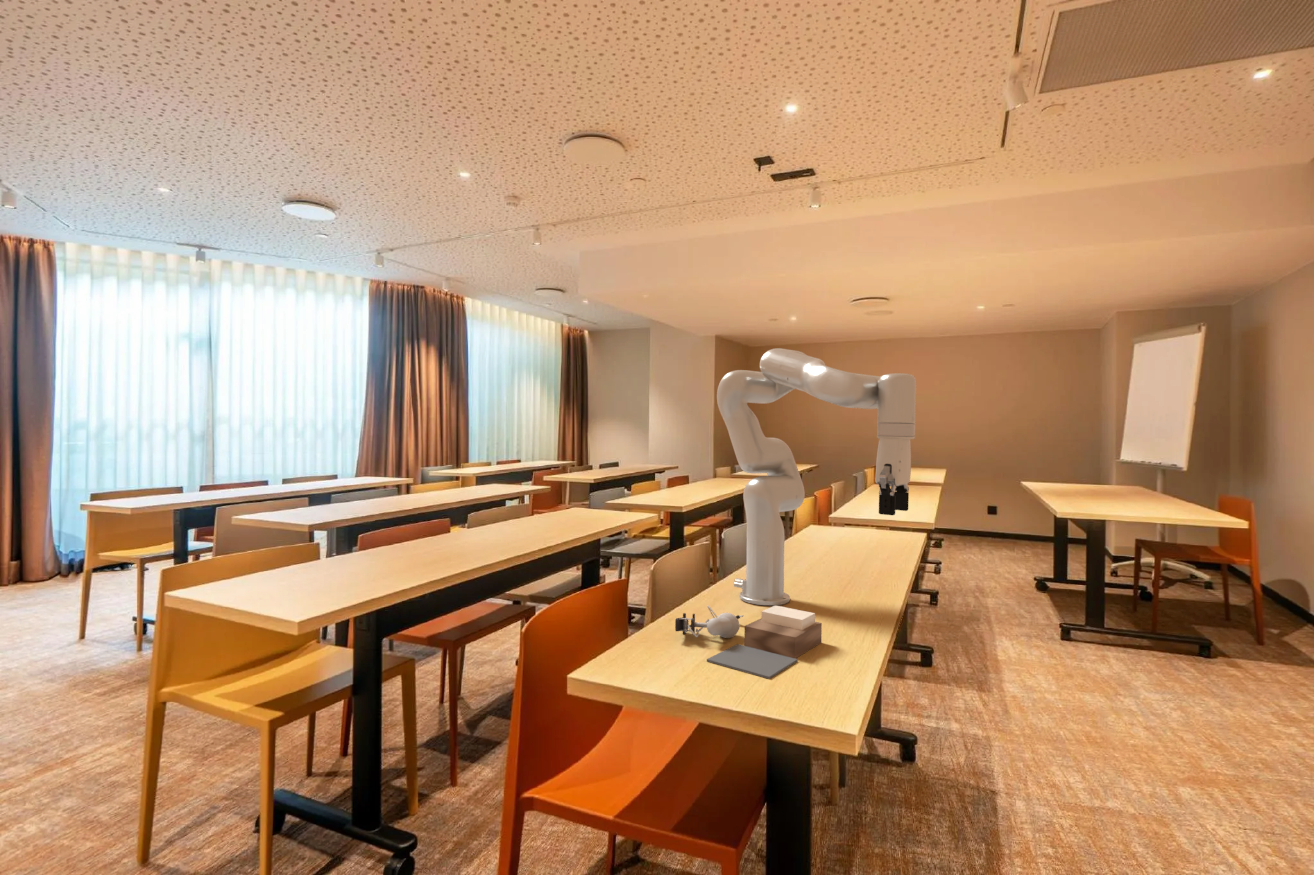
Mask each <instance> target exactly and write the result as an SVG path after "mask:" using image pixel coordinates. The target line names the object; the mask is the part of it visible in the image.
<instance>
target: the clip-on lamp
mask: <svg viewBox="0 0 1314 875" xmlns="http://www.w3.org/2000/svg"><path fill="white" fill-rule="evenodd" d="M706 607H707V608H708V611H709V612H710V614H711V616H712V618H710V619H709V618H707V619H706V621H705V622H699V621H698V622H696V613H692V617H691V618H688V617H687V613H686V612H683V613H682V617H675V622H674V624H675V625H674V626H675V632H682V634H683V635H686V633H688V632H690V633H691V634H692V635H693V636H695V638H698V637H699V634H700V632H701V631H702V630H703V628H706V629H707V632H708V633H709V634H710V635H712V636H720V637H721V638H724V639H731V638H733V637H735V636H736V635H737V634H738V632H739V630H740V622H739V619H741V618H743V617H744V615H739V614H737V615H734V614H733V613H731V612H723V613H720V614H718V616H717V614H716V613H715V611H714V610H713V609H712V608H711V607H710V605H708V604H707V606H706ZM689 622H690V624H689Z"/></svg>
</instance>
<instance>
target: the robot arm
mask: <svg viewBox="0 0 1314 875" xmlns="http://www.w3.org/2000/svg"><path fill="white" fill-rule="evenodd" d="M759 369H760V371H755V370H746V369H745V370H744V369H737V370H736V369H735V370H732V371H729V372H727V373H726V374H724V376H723V377H722V378H721V380H720V381H719V384H718V386H717V390H716V391H717V392H716V400H717V401H716V402H717V407H718V410H719V413H720V415H721V418H722V420H723V422H724V424H725V427H726V429H727V432H728V435H729V438H730V442H731V445H732V448H733V452H734V454H735V457H736V460H737V463H738V466H739V467H740V469H741V470H742V471H743V472H744V473H747V474H767V475H761V476H757V477H754V478H752V479H750V480H749V481H748V482H747V483H746V485H745V487H744V489H743V495H742V497H743V498H742V499H743V505H744V510H745V518H746V567H745V568H746V571H745V572H746V574H745V578H746V579H743V578H738V577H736V578H735V579H734V582H733V587H734V588H741V589H742V590H741V592H740V593H739V599H740V600H741V601H743V602H745V603H749V604H752V605H757V606H775V605H776V606H782V605H785V604H788V603H789V602H790V600H791V596H790V594H788V593H786V592H785V590H784V589H785V527H784V523H783V520H782V518H781V515H780V513H781V512H782V513H784V512H791V511H794V510H797V509H799V507H801V506H802V504H803V503H804V500H805V497H806V496H805V494H806V492H805V487H804V483H803V480H802V477H801V474H800V471H799V469H798V466H797V463H796V459H795V457H794V454H793V452H792V450H791V448H790V447H789V445H788V444H787V443H786V442H785V441H784V440H782V439H780V438H777V437H766V436H765V434H764V432H763V430H762V428H761V424H760V422H759V418H758V417H757V416H756V414H755V413H754V412H753V410H752V409H751V408H750V407H749V405H748V403H750V404H764V405H765V404H770V403H771V404H772V403H773V402H774V403H775V401H778V400H779V399H781V398H783V397H784V396H786V395H787V394H788V393H789V394H790V392H792V391H794V390H798V391H799V392H804V393H806V394H808V395H810V396H811V397H813V398H816V399H818V400H821V401H823V402H826V403H830V404H832V405H836V406H839V407H843V408H849V409H861V410H862V409H863V410H876V409H877V423H876V424H877V426H876V439H878V445H877V453H876V461H875V462H876V463H875V464H876V465H875V475H874V478H875V481H874V482H875V483H876V485H878V488H879V490H878V491H879V492H878V514H879V515H885V516H895V515H896V511H902V512H903V511H904V512H907V511H908V510H909V499H910V498H909V496H910V495H909V493H910V492H909V491H910V488H909V487H910V486H909V483H910V482H911V471H912V470H911V469H912V452H911V451H912V450H911V449H912V448H911V440H915V439H916V407H917V404H916V403H917V401H916V400H917V379H916V377H915V376H914V375H913V374H911V373H902V372H901V373H899V372H898V373H894V372H893V373H886V374H883V375H880V376H878V375H872V374H864V373H855V372H850V371H845V370H842V369H837V368H835V367H830V366H828V365H826V363H825V361H824V360H822V359H821V358H818V357H813V356H811V355H807V354H806V353H805V352H803V351H799V350H794V349H788V348H781V347H779V348H778V347H777V348H772V349H768V350H767V351H766V352H765V353H763V355H762V356H761V357H760V361H759Z"/></svg>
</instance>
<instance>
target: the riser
mask: <svg viewBox="0 0 1314 875" xmlns="http://www.w3.org/2000/svg"><path fill="white" fill-rule="evenodd" d="M822 625H823V624H822V622H820V621H815V623H814V624H812V625H811V626H809V627H807V628H805V629H803V630H799V629H795V628H790V627H785V626H781V625H776V624H772V623H767V622H763V621H761V618H759V619H757V620H754V621H752V622H750V623H748V624H746V625H744V635H743V636H744V637H743V638H744V641H743V642H744V645H743V646H747V647H751V648H755V649H759V650H763V651H767V652H771V653H775V654H779V655H783V656H787V657H791V658H795V659H798V658H799V657H801V656H802V655H803V654H805V653H807V652H808V651H810V650H812V649H813V648H815V647H817V646H818V645H820V644H822V634H823V633H822V630H823V629H822Z"/></svg>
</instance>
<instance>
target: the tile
mask: <svg viewBox="0 0 1314 875" xmlns="http://www.w3.org/2000/svg"><path fill="white" fill-rule="evenodd" d="M760 613H761V614H760V615H761V617H760V619H761V621H763V622H767V623H772V624H776V625H781V626H785V627H790V628H795V629H799V630H803V629H805V628H807V627H809V626H811V625H812V624H814V623H815V622H816V613H815V612H811V611H805V610H799V609H796V608H790V607H785V606H782V605H772V606H769V607H768V608H766V609H764V610H762V611H761V612H760Z"/></svg>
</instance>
